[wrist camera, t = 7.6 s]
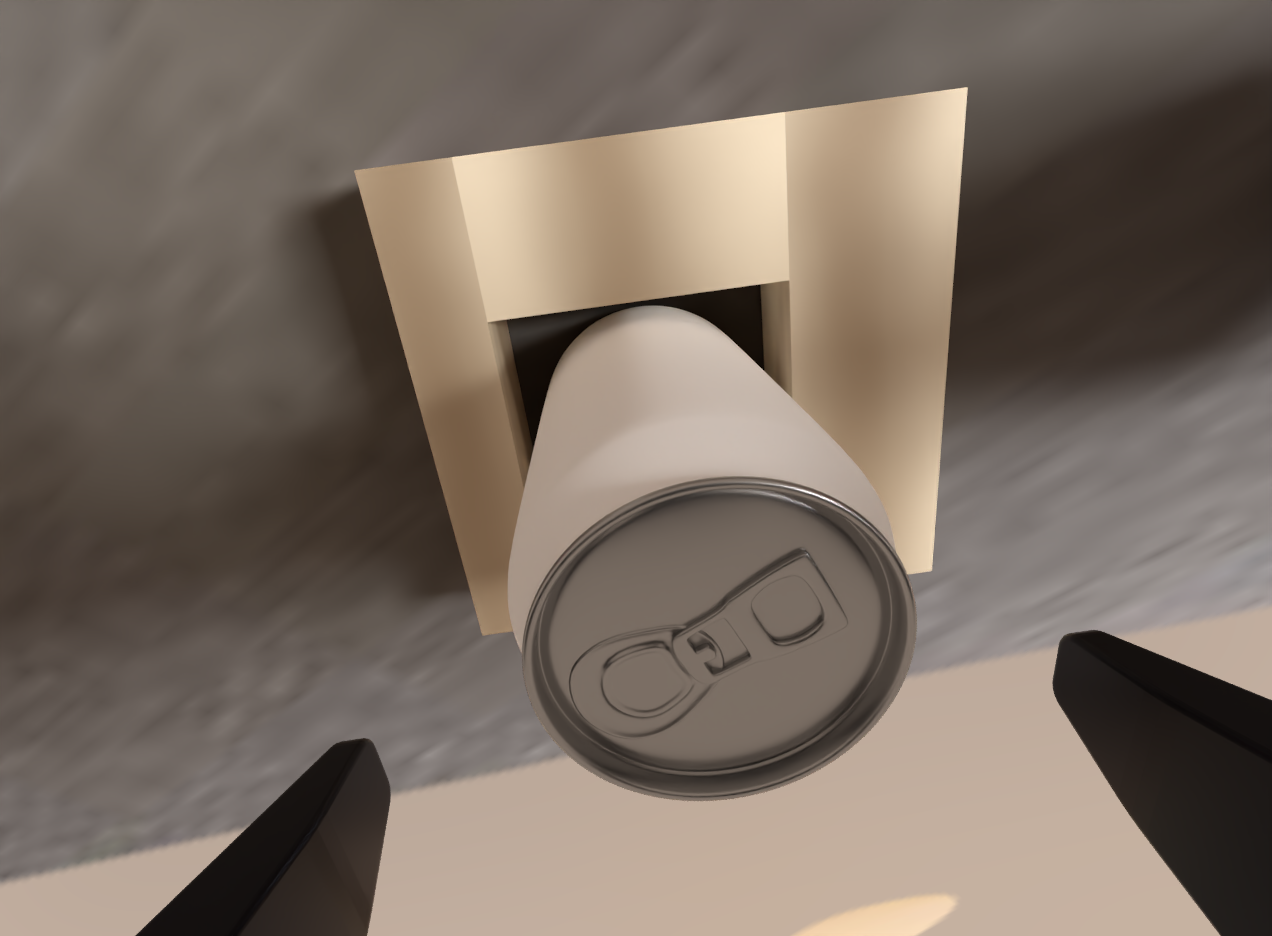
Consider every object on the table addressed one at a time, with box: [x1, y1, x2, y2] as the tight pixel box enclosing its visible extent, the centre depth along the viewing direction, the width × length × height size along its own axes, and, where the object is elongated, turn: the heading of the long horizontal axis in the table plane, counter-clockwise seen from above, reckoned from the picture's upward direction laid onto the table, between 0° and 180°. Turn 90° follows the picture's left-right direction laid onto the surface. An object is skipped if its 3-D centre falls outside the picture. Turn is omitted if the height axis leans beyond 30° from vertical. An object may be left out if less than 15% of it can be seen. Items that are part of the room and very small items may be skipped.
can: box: [508, 306, 917, 801], centre depth 14 cm, size 6×6×12 cm
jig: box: [355, 87, 968, 635], centre depth 18 cm, size 14×13×3 cm
